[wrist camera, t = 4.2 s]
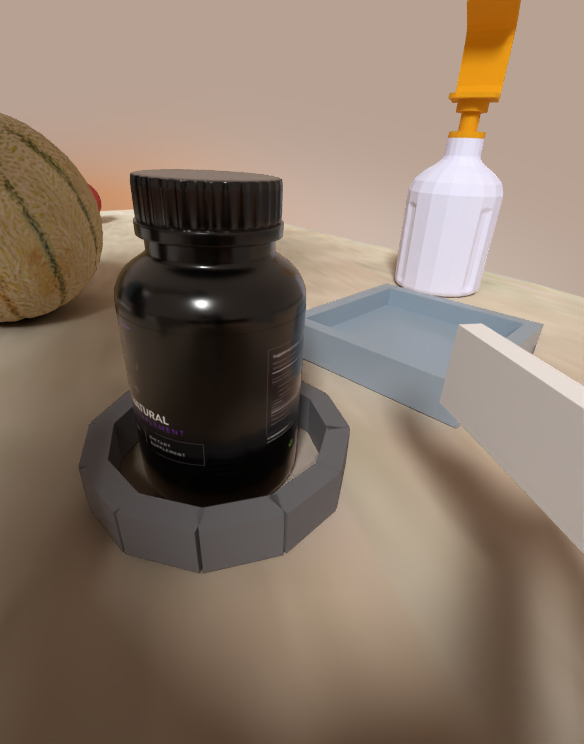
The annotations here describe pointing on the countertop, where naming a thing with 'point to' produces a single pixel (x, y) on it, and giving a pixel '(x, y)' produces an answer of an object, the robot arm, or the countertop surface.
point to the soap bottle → (460, 171)
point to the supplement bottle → (212, 335)
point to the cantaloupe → (42, 225)
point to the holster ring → (220, 522)
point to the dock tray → (401, 342)
